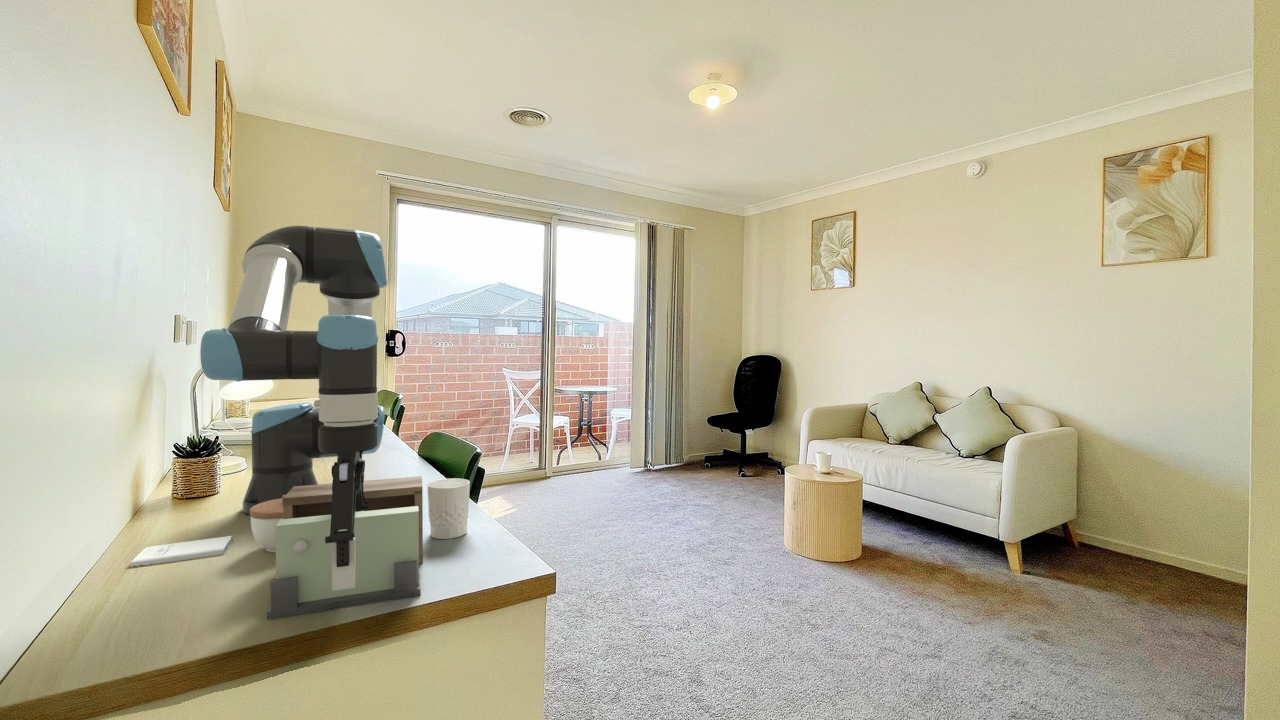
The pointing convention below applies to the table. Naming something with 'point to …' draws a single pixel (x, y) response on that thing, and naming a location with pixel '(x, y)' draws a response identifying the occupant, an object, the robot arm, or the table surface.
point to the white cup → (448, 507)
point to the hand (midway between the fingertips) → (349, 569)
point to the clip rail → (287, 596)
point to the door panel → (376, 551)
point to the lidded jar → (266, 522)
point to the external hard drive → (182, 551)
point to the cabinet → (376, 494)
